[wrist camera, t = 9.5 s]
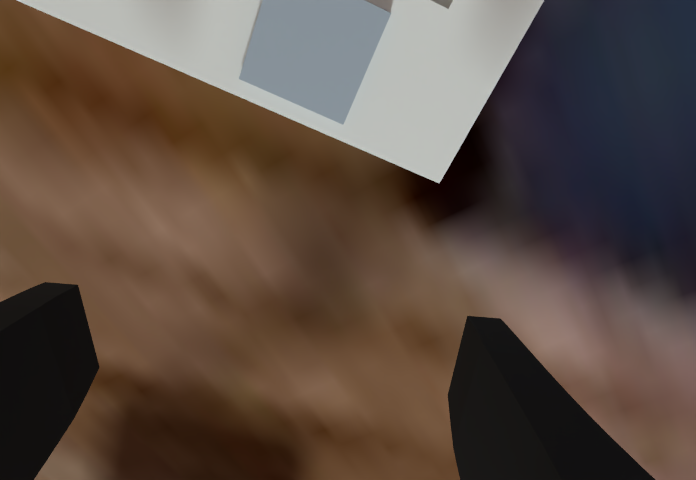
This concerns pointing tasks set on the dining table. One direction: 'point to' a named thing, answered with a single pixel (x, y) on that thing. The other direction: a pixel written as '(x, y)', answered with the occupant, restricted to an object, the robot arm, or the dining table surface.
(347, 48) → the socket block
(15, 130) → the dining table surface
